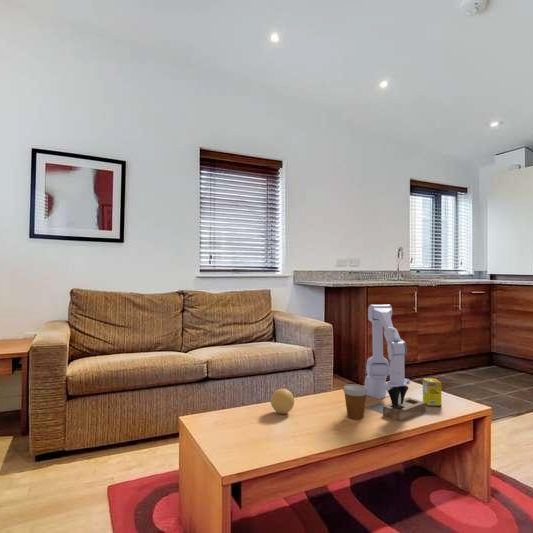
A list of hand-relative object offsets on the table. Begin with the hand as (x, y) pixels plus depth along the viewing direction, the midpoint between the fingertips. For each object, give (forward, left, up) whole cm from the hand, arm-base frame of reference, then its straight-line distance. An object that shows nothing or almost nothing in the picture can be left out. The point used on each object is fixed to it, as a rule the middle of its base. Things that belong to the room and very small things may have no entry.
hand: (397, 404), depth 152 cm
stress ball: (-31, -35, -5) cm, 47 cm away
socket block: (0, +5, -5) cm, 7 cm away
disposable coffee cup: (-10, -14, -5) cm, 18 cm away
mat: (-9, +2, -5) cm, 11 cm away
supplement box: (+1, +24, -5) cm, 25 cm away
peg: (0, 0, -3) cm, 3 cm away
